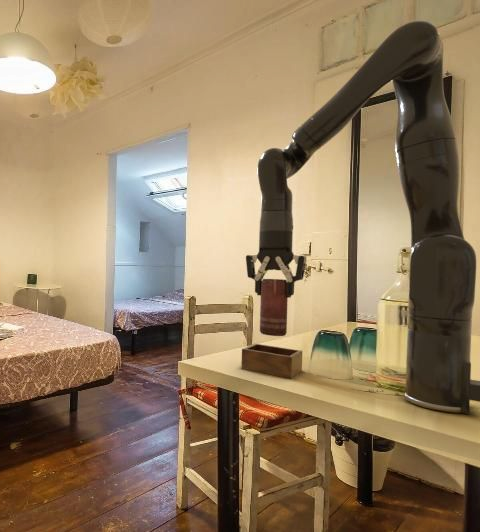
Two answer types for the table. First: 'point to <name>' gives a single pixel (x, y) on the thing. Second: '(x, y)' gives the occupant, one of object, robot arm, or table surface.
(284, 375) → the holder
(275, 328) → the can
